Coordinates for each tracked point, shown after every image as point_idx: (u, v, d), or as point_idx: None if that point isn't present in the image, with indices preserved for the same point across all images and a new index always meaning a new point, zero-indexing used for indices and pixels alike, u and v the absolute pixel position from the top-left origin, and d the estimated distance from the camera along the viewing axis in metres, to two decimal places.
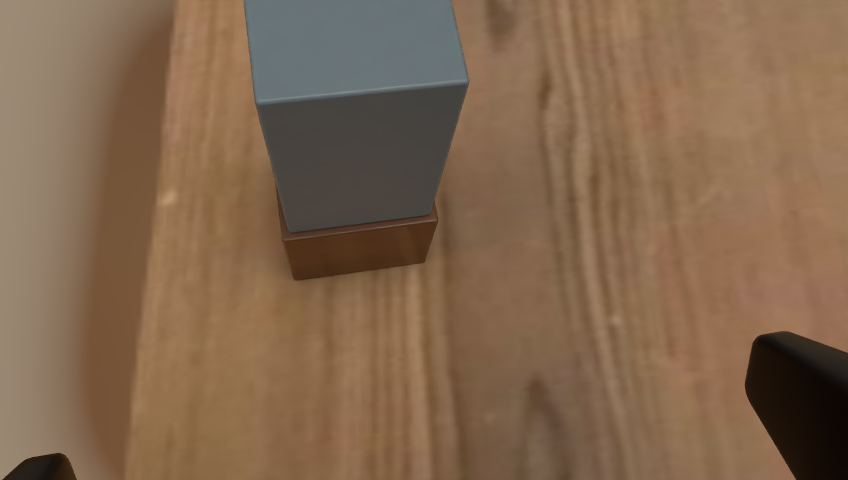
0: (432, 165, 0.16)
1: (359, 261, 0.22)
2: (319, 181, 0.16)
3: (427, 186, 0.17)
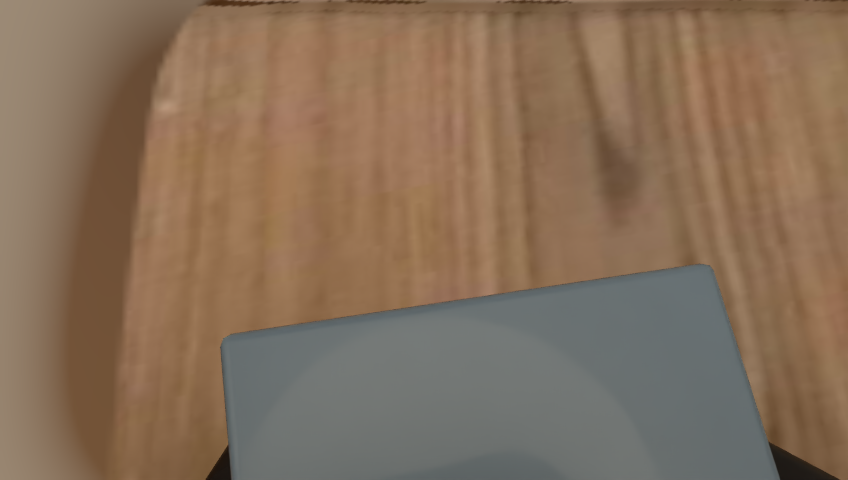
0: None
1: None
2: None
3: None
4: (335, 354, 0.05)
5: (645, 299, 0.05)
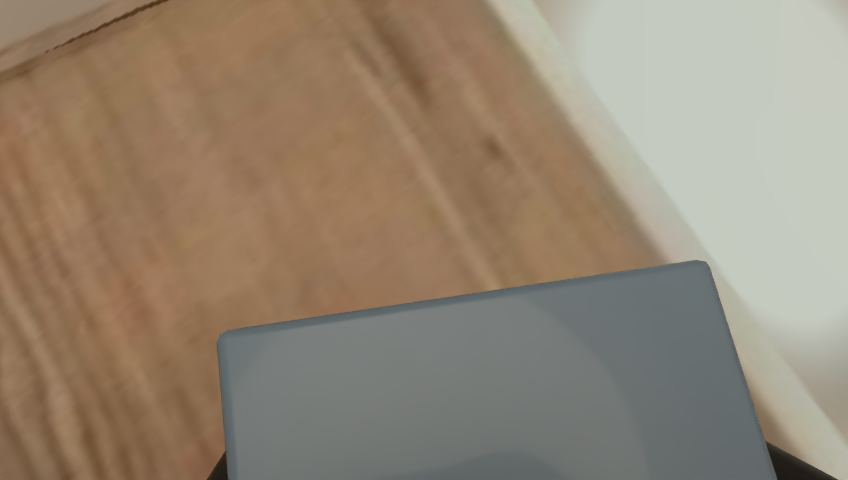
0: None
1: None
2: None
3: None
4: (332, 350, 0.05)
5: (641, 295, 0.05)
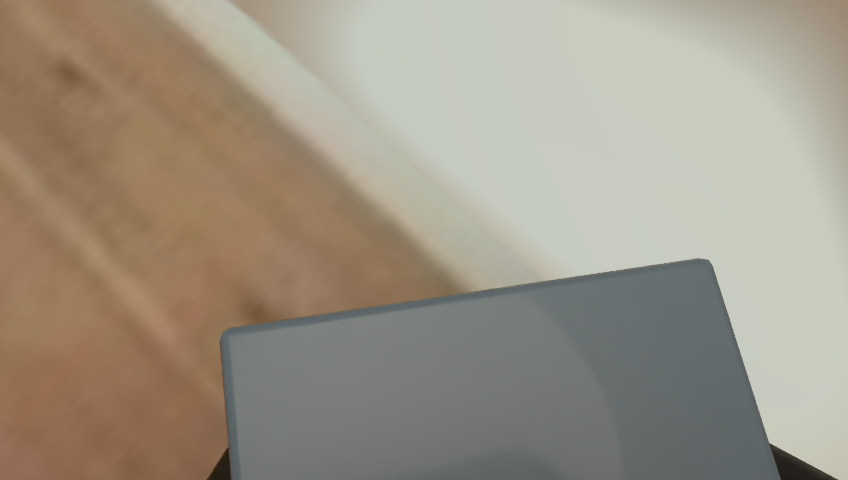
0: None
1: None
2: None
3: None
4: (334, 348, 0.05)
5: (644, 293, 0.05)
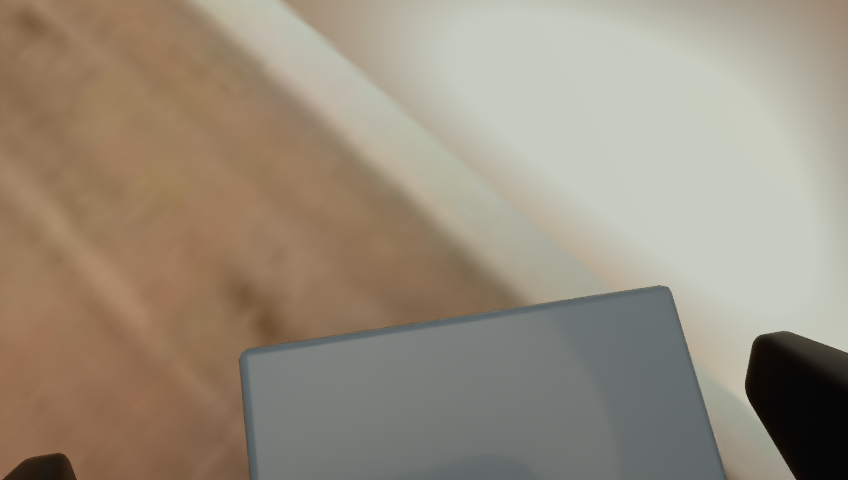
0: None
1: None
2: None
3: None
4: (339, 366, 0.06)
5: (610, 317, 0.06)
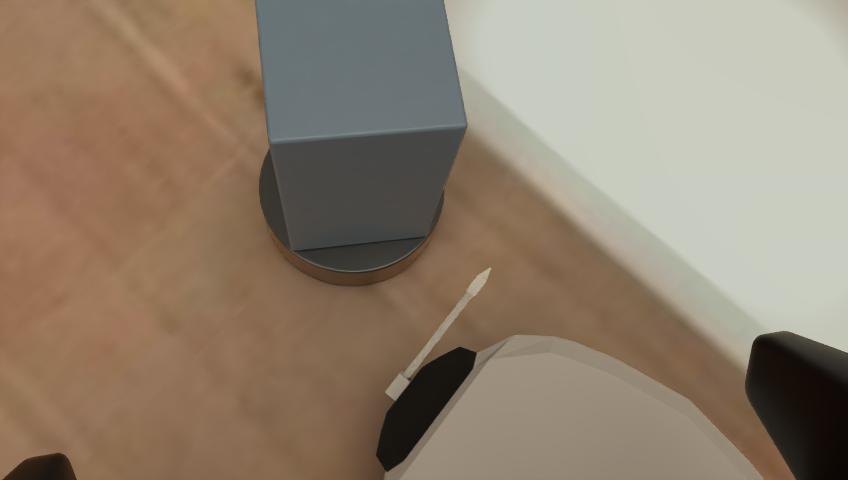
0: (430, 194, 0.17)
1: None
2: (323, 207, 0.17)
3: (424, 212, 0.18)
4: None
5: None
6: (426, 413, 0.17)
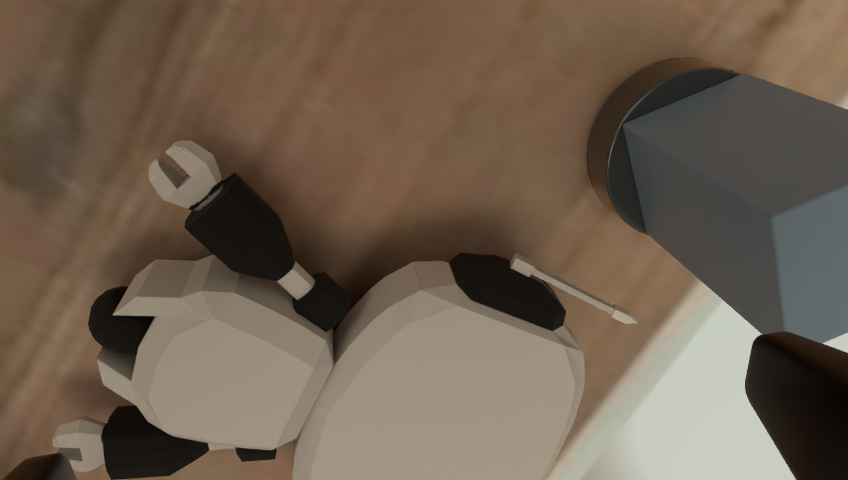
0: (702, 275, 0.19)
1: None
2: (684, 192, 0.18)
3: (679, 255, 0.20)
4: None
5: None
6: (510, 306, 0.20)
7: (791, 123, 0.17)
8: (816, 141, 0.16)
